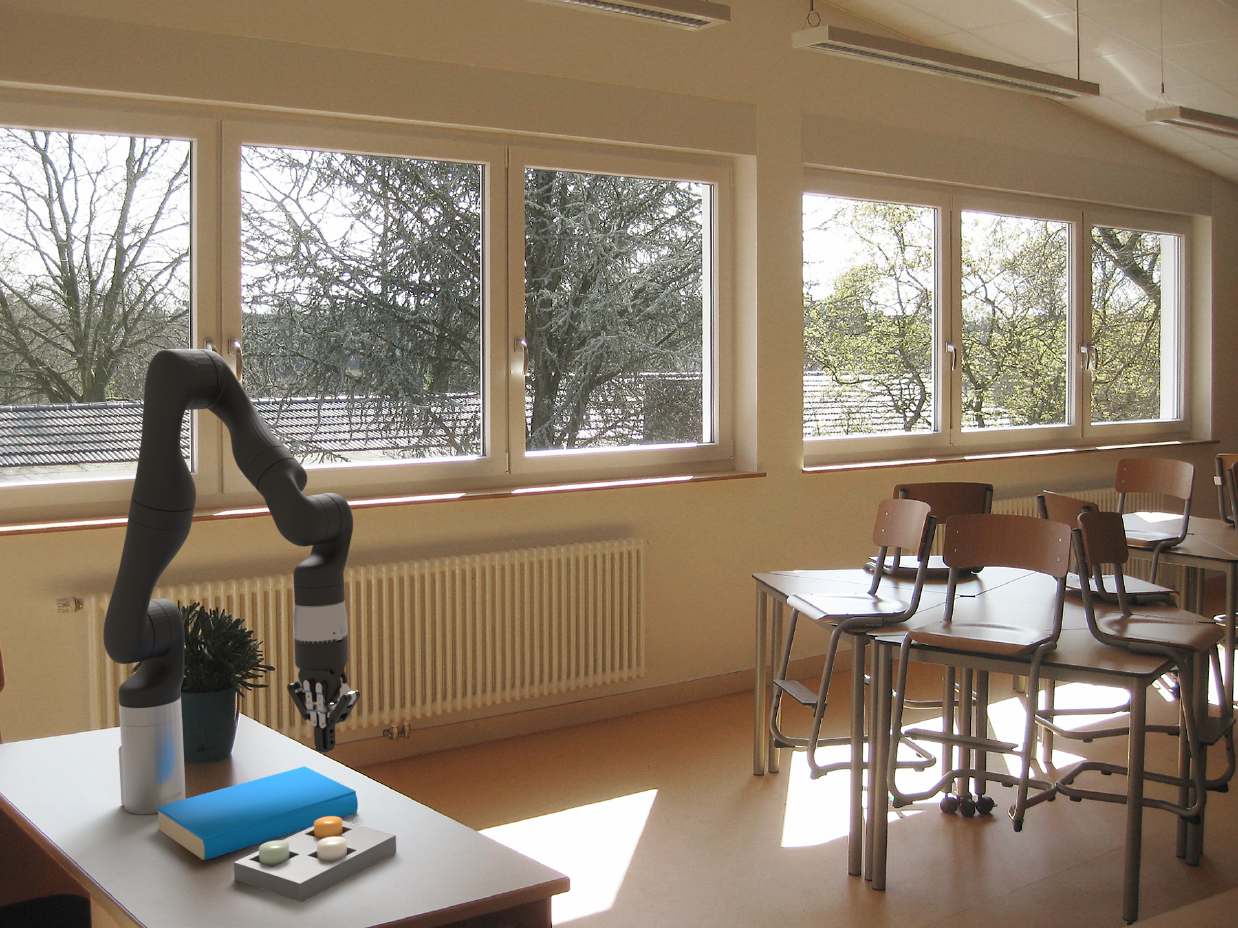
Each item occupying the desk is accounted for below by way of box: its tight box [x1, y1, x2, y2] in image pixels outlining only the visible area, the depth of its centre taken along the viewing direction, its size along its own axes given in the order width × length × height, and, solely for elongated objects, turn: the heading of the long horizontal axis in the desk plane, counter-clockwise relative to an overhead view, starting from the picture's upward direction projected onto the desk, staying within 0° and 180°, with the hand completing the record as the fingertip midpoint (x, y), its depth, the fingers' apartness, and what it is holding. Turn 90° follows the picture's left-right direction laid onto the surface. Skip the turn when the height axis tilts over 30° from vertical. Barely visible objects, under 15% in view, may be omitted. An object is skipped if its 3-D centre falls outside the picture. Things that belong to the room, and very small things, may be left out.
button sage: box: [258, 839, 290, 867], centre depth 157 cm, size 4×4×2 cm
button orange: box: [314, 816, 343, 839], centre depth 166 cm, size 4×4×2 cm
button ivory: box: [317, 837, 347, 863], centre depth 158 cm, size 4×4×2 cm
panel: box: [233, 820, 397, 902], centre depth 160 cm, size 13×18×2 cm
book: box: [157, 765, 359, 862], centre depth 176 cm, size 17×4×25 cm
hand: (325, 750), depth 165 cm, fingers closed
